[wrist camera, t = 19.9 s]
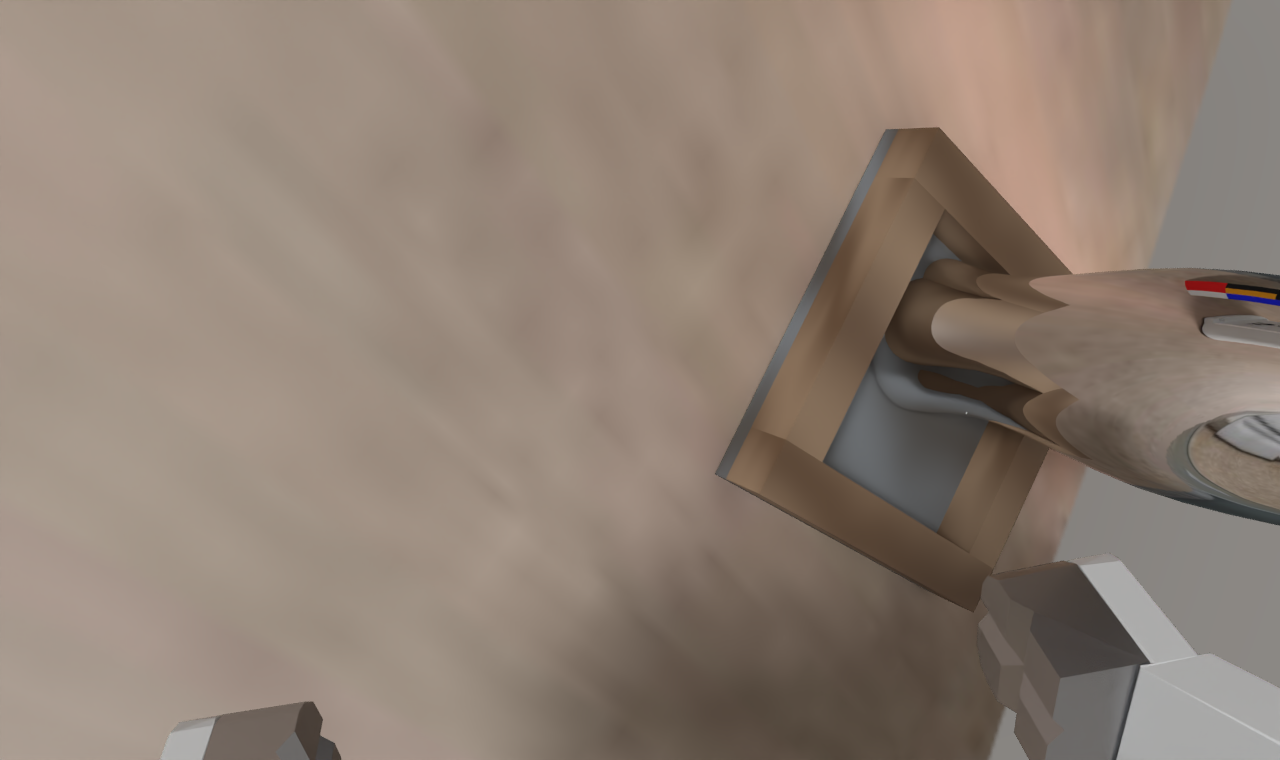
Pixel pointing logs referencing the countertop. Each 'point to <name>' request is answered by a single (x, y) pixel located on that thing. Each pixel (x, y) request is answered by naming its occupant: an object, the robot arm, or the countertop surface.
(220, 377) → the countertop surface
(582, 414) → the countertop surface
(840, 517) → the cradle jig
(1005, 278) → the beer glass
